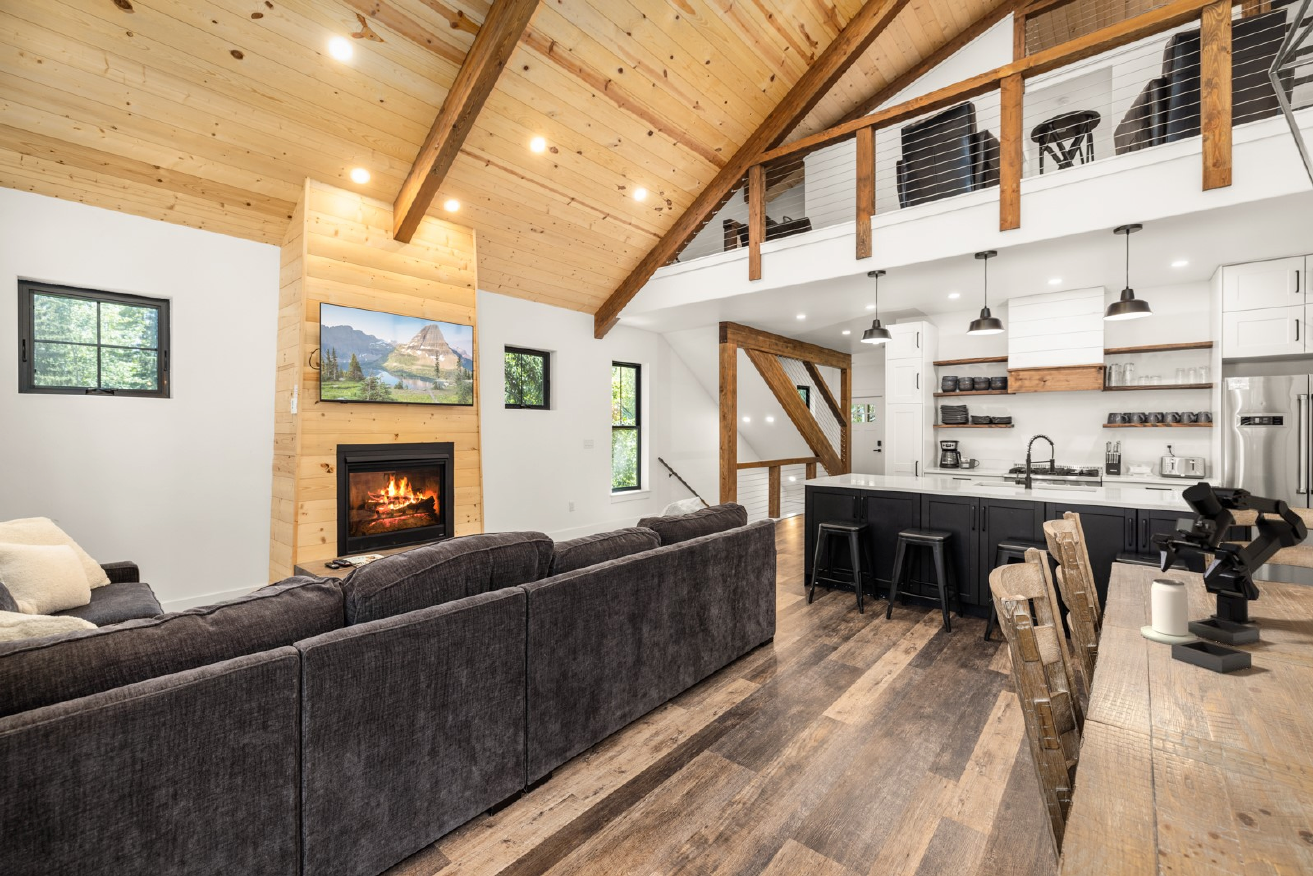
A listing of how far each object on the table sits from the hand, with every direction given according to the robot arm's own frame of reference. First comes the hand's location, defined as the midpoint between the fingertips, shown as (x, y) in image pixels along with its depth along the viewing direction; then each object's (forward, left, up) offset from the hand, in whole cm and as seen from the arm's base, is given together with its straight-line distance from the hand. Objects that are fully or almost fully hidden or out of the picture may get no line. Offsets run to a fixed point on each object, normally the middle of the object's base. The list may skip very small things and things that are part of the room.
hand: (1183, 575), depth 145 cm
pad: (+11, +3, -13) cm, 18 cm away
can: (+11, +4, -12) cm, 17 cm away
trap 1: (+19, +16, -13) cm, 29 cm away
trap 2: (-1, +7, -13) cm, 15 cm away
